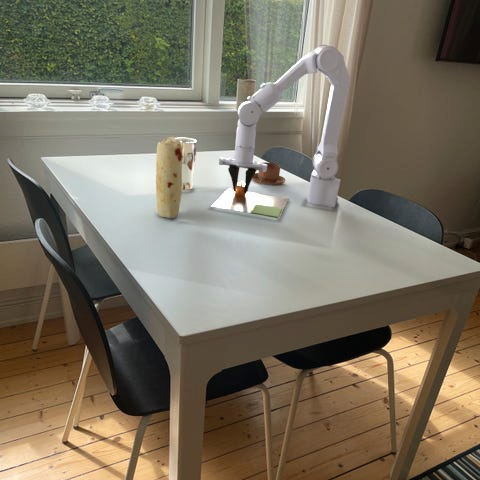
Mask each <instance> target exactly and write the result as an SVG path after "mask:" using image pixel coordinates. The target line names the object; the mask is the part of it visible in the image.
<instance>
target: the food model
mask: <svg viewBox="0 0 480 480" xmlns="http://www.w3.org/2000/svg"><path fill="white" fill-rule="evenodd" d="M176 138H177V137H175V136H169V137H165V138H163V139H162V140H161V142H160V141H158V143H157V145H156V166H155V193H156V194H155V196H156V198H155V199H156V212H157V214H158V216H160V217H162V218H166V219H170V220H171V219H175V218H176V217H177V216H178V214H179V212H180V207H181V200H182V190H183V189H182V145H181V142H180V141H179V140H178V139H176Z"/></svg>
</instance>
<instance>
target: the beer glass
mask: <svg viewBox="0 0 480 480" xmlns="http://www.w3.org/2000/svg"><path fill="white" fill-rule="evenodd" d="M175 138H176V139H178V140H179V141H180V142H181V145H182V190H191V189H193V188H194V184H193V176H194V171H195V168H196V162H197V140H196V139H194V138H190V137H175Z"/></svg>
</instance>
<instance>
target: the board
mask: <svg viewBox="0 0 480 480" xmlns="http://www.w3.org/2000/svg"><path fill="white" fill-rule="evenodd" d="M289 200H290V198H288V197H282V196H276V195H269V194H263V193H258V192H252V191H248V192H247V193H246V194H245V195H244V196H237V195H235V191H233V188H227V189H226V190H225V191H224V192H223V193H222V194H221V195H220V196H219V197H218V198H217V199H216V201H214V203H212V205H210V207H211V208H218V209H223V210H229V211H235V212H240V213H246V214H251V215H258V216H263V217H269V218H275V219H280V218H281V216H282V214H283V212H284V210H285V208H286V206H287V204H288V202H289ZM255 204H259V205H265V206H271V207H277V208H282V210H281V212H280V214H279V216H278V217H273V216H267V215H261V214H255V213H250V212H251V210H252V209H253V207H254V206H255Z"/></svg>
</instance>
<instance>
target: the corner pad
mask: <svg viewBox="0 0 480 480" xmlns="http://www.w3.org/2000/svg"><path fill="white" fill-rule="evenodd" d="M281 210H282V208H277V207H271V206H265V205H259V204H255V206H254V207H253V209H252V210H251V212H250V213H249V214H251V213H255V214H254V215H257V214H261V215H260V216H262V215H267V216H266V217H268V216H273V217H272V218H274V217H278V216H279V214H280V212H281Z"/></svg>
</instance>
